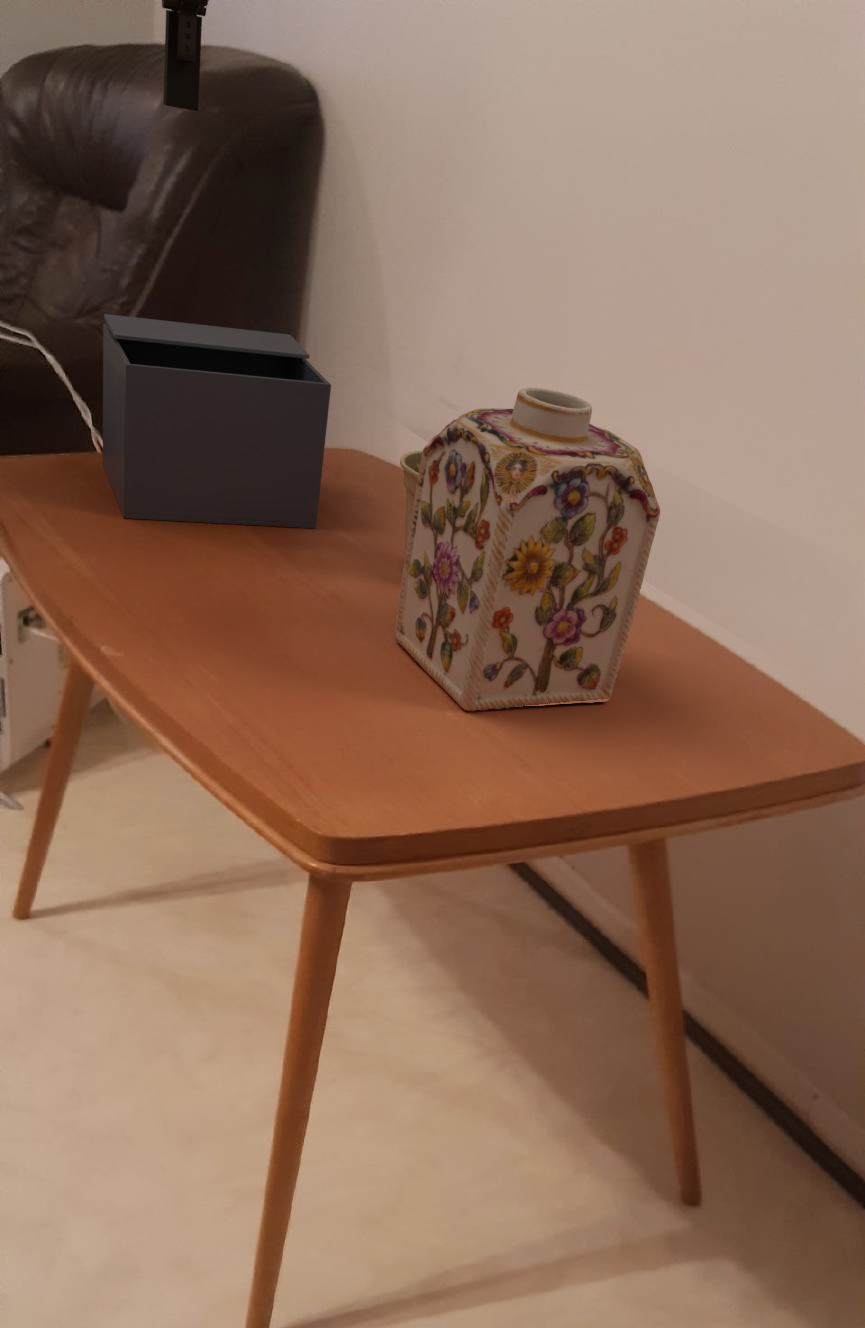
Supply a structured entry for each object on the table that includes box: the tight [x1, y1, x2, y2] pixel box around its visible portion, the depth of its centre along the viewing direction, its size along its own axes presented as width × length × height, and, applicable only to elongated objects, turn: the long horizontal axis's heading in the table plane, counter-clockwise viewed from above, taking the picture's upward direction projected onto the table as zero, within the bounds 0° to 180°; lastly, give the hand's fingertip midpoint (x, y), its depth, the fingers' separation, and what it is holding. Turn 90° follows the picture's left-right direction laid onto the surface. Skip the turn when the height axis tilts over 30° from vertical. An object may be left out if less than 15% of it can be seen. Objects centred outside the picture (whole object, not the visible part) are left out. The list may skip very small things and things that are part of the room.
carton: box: [102, 322, 332, 530], centre depth 101 cm, size 16×14×11 cm
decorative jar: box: [394, 387, 661, 712], centre depth 79 cm, size 12×12×18 cm
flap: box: [103, 313, 310, 360], centre depth 100 cm, size 16×7×1 cm, turn 109°
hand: (180, 107), depth 104 cm, fingers closed
